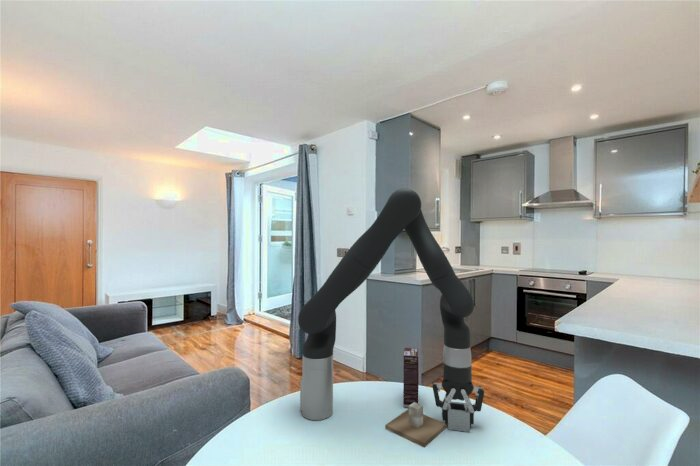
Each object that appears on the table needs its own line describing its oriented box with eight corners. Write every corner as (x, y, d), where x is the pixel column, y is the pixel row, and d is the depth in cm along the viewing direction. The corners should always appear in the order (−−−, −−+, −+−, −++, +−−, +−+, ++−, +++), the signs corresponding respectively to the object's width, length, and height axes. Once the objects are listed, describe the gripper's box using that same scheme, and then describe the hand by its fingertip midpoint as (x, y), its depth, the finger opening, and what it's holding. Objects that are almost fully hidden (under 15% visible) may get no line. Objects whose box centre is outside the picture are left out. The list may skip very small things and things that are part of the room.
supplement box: (419, 409, 97) (418, 356, 98) (403, 407, 98) (402, 355, 99) (418, 396, 106) (418, 348, 106) (404, 395, 107) (403, 347, 107)
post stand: (385, 428, 87) (385, 406, 87) (409, 412, 96) (409, 391, 96) (424, 447, 79) (424, 422, 79) (446, 427, 87) (446, 405, 88)
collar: (448, 429, 86) (447, 410, 86) (446, 418, 92) (446, 400, 92) (469, 432, 85) (469, 412, 85) (466, 421, 90) (466, 403, 91)
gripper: (431, 364, 87) (431, 427, 86) (487, 368, 84) (488, 434, 83) (430, 355, 94) (430, 413, 94) (481, 359, 91) (482, 419, 90)
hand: (457, 423), depth 88 cm, fingers closed on collar, 5 cm apart
